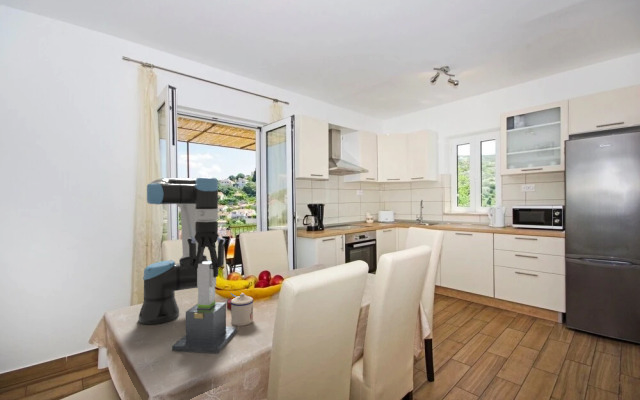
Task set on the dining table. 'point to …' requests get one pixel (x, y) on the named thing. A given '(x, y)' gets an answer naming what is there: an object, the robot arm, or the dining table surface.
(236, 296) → the canned food
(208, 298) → the post
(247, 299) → the teacup with lid
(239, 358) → the dining table surface
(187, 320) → the stand
